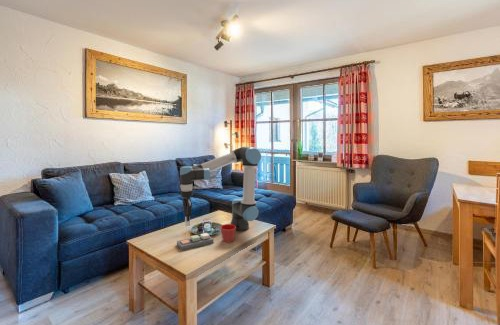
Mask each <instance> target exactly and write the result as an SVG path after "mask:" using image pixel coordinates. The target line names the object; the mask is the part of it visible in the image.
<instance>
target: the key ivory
mask: <svg viewBox="0 0 500 325" xmlns="http://www.w3.org/2000/svg"><path fill="white" fill-rule="evenodd" d="M199 236H200V237H201V238H202V239H203V240H204V239H208V238H210V237H211V236H210V234H209V233H208V232H204V233H203V232H202V233H200V234H199Z"/></svg>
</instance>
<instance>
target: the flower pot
mask: <svg viewBox="0 0 500 325" xmlns="http://www.w3.org/2000/svg"><path fill="white" fill-rule="evenodd" d="M220 234H221V238H222V241H223V242H224V243H232V242H233V241H234V240H235V236H236V226H235V225H233V224H231V223H226V224H222V225H221V226H220Z"/></svg>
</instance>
